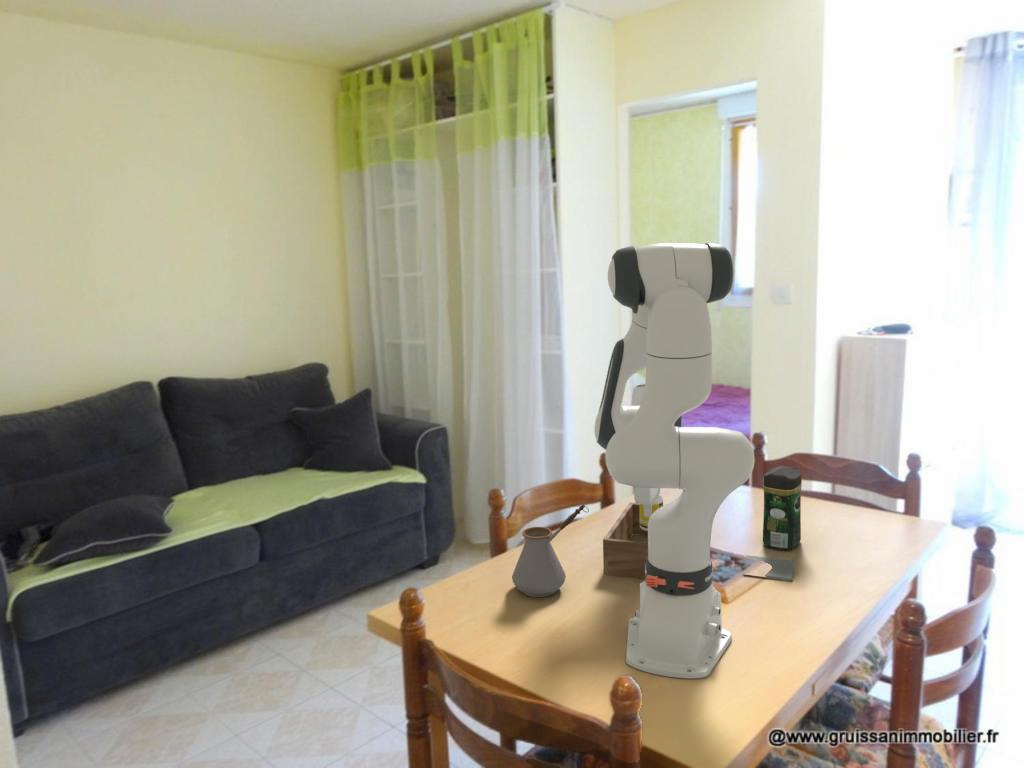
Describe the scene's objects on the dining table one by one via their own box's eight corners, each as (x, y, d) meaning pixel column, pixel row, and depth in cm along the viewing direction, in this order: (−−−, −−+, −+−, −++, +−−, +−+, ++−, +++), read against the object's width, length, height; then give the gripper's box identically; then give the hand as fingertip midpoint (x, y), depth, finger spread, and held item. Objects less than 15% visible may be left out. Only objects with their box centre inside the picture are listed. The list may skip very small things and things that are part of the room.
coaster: (792, 581, 155) (792, 578, 155) (743, 575, 159) (743, 572, 159) (793, 562, 164) (793, 560, 164) (746, 557, 168) (746, 555, 168)
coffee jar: (771, 534, 181) (772, 461, 178) (804, 540, 177) (806, 466, 174) (757, 546, 174) (758, 471, 171) (791, 553, 169) (793, 476, 166)
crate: (666, 581, 157) (666, 546, 156) (603, 573, 162) (602, 539, 161) (686, 538, 181) (686, 507, 179) (630, 532, 186) (629, 502, 185)
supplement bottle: (663, 532, 167) (663, 490, 165) (639, 531, 168) (638, 490, 166) (663, 523, 172) (662, 483, 170) (639, 523, 173) (639, 483, 171)
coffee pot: (539, 606, 148) (536, 536, 146) (501, 590, 156) (498, 523, 154) (607, 573, 162) (605, 509, 160) (568, 560, 171) (567, 498, 168)
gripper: (655, 465, 156) (656, 527, 158) (672, 443, 175) (672, 498, 177) (626, 464, 159) (627, 524, 161) (646, 442, 177) (646, 496, 180)
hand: (651, 511), depth 169 cm, fingers closed on supplement bottle, 5 cm apart
